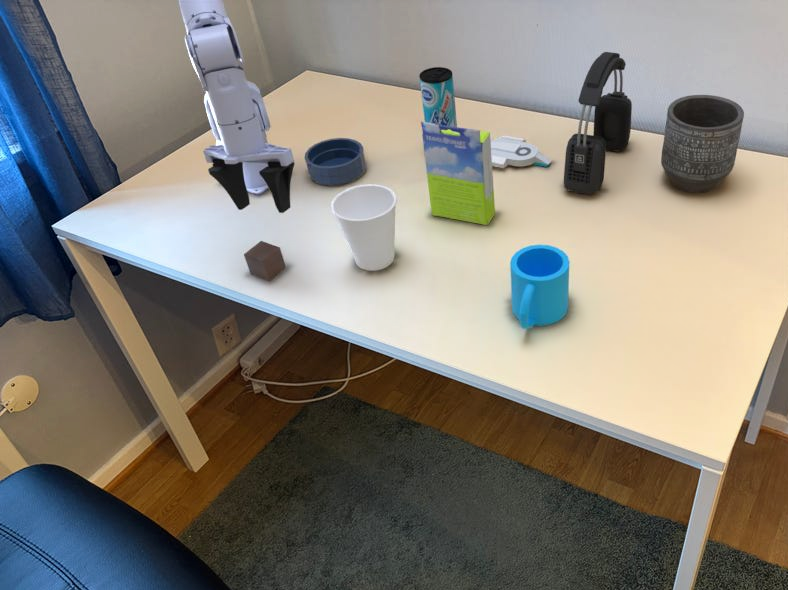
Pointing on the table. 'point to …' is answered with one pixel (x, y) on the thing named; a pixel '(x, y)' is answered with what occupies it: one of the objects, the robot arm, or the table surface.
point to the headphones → (598, 127)
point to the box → (459, 172)
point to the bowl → (335, 161)
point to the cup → (368, 224)
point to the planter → (701, 141)
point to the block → (265, 260)
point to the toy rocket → (515, 153)
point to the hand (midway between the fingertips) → (264, 208)
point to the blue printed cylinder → (438, 96)
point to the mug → (539, 285)
